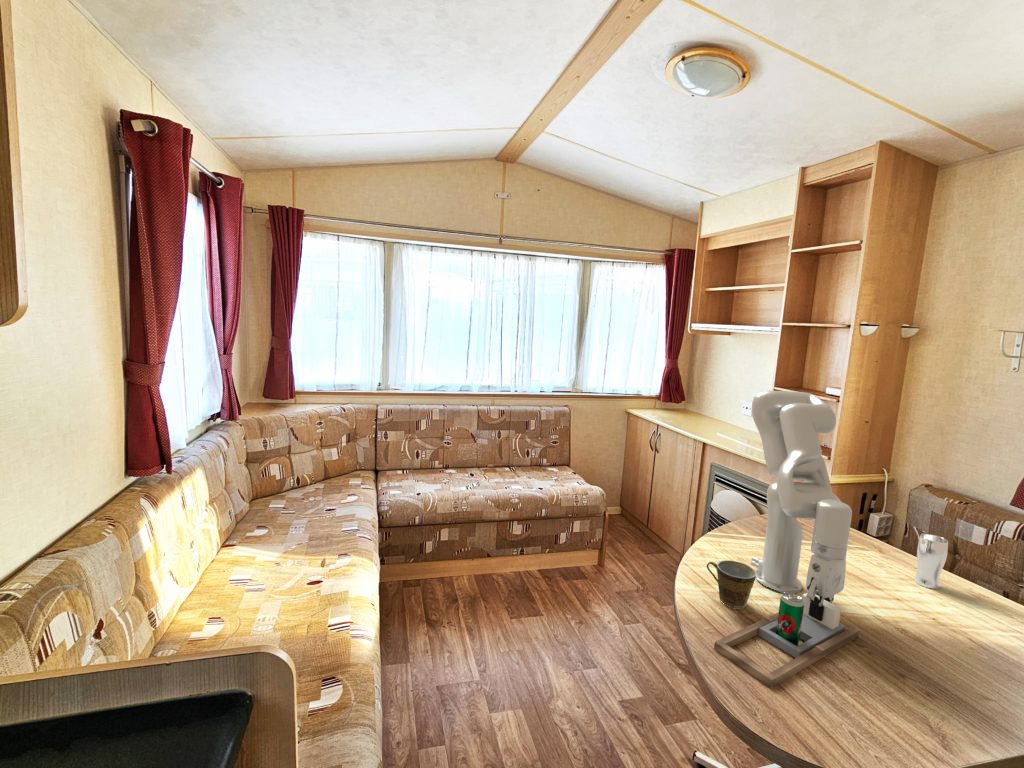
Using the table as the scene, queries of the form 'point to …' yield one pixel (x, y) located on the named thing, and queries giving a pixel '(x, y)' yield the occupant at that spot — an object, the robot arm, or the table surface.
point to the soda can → (790, 617)
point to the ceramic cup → (734, 582)
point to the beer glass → (930, 560)
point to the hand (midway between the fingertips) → (819, 615)
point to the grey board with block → (807, 629)
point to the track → (788, 668)
